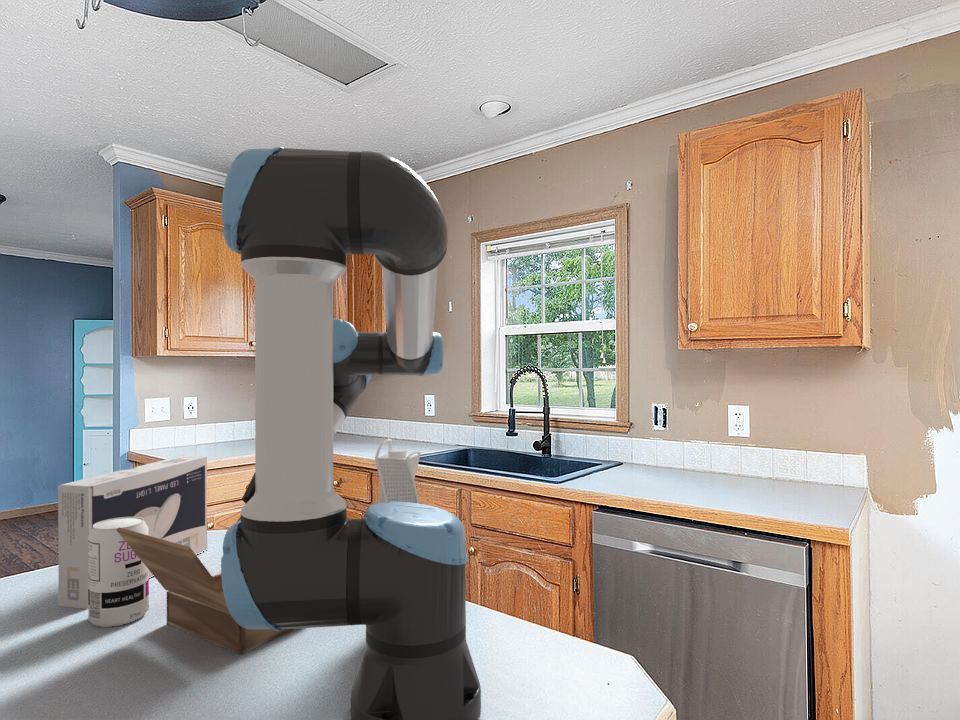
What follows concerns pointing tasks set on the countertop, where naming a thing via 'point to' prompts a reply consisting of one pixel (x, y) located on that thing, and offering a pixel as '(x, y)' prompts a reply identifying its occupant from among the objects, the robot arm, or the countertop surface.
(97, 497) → the packaging
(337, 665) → the countertop surface
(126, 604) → the supplement can
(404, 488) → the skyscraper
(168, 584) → the lid
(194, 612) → the box
